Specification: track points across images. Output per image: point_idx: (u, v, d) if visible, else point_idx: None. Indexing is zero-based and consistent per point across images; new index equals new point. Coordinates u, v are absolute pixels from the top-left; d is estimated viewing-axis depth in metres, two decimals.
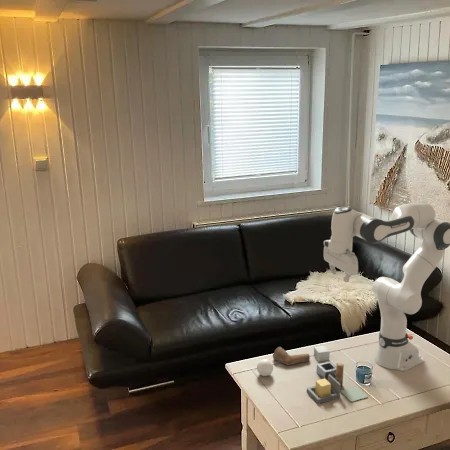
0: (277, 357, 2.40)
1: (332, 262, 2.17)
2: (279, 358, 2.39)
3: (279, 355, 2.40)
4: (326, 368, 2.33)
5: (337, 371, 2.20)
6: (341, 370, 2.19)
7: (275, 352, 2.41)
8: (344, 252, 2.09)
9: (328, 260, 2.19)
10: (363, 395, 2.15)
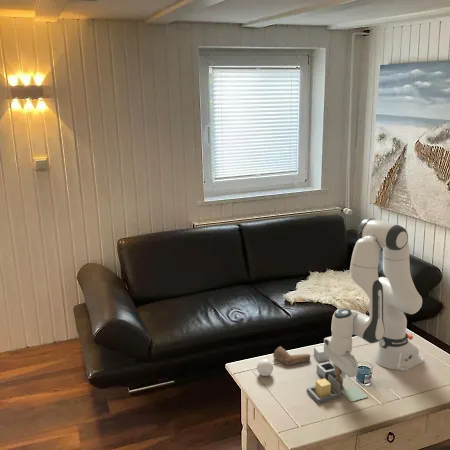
0: (277, 357, 2.41)
1: (332, 360, 2.22)
2: (279, 358, 2.40)
3: (279, 355, 2.40)
4: (326, 368, 2.33)
5: (337, 371, 2.20)
6: None
7: (275, 352, 2.42)
8: (344, 354, 2.14)
9: (328, 357, 2.25)
10: (363, 395, 2.15)
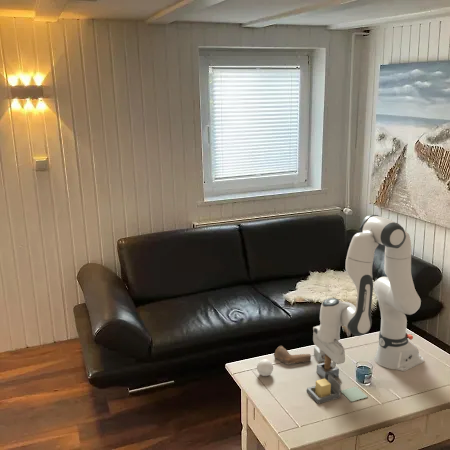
0: (278, 356, 2.41)
1: (321, 348, 2.30)
2: (280, 357, 2.40)
3: (280, 354, 2.41)
4: None
5: (325, 361, 2.28)
6: (329, 360, 2.27)
7: (276, 351, 2.42)
8: (332, 341, 2.21)
9: (317, 345, 2.32)
10: (363, 395, 2.15)
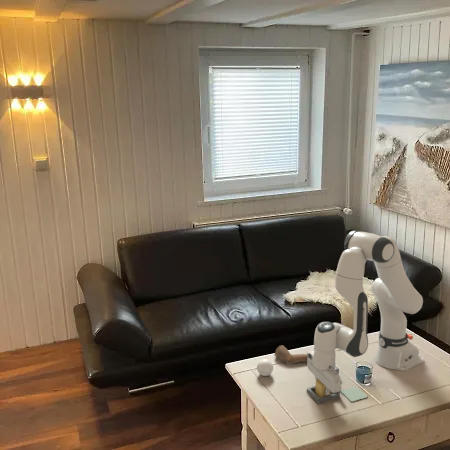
0: (278, 355, 2.42)
1: (315, 374, 2.17)
2: (280, 356, 2.41)
3: (280, 353, 2.41)
4: None
5: None
6: None
7: (277, 350, 2.43)
8: (327, 369, 2.08)
9: (312, 371, 2.19)
10: (363, 395, 2.15)
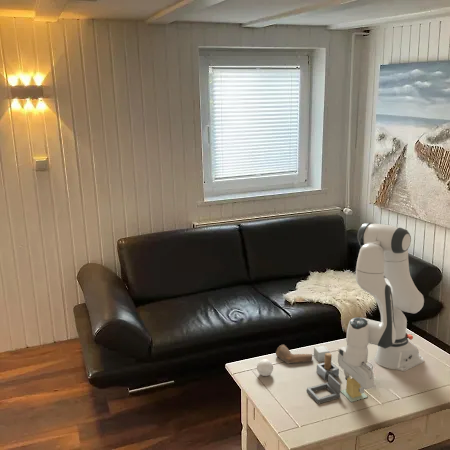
0: (279, 354, 2.42)
1: (347, 370, 2.16)
2: (281, 356, 2.42)
3: (281, 353, 2.42)
4: None
5: (325, 361, 2.28)
6: (329, 359, 2.27)
7: (278, 349, 2.44)
8: (359, 364, 2.08)
9: (343, 367, 2.19)
10: (363, 395, 2.15)
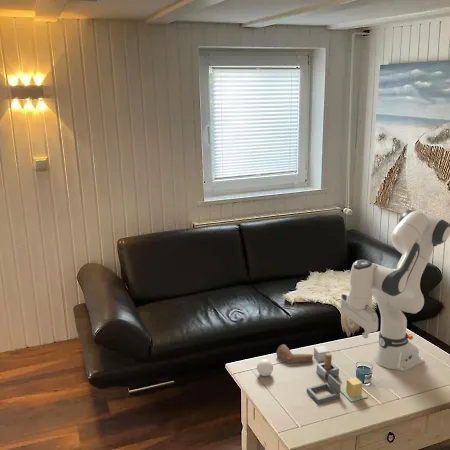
0: (279, 354, 2.43)
1: (350, 316, 2.09)
2: (281, 355, 2.42)
3: (281, 352, 2.42)
4: None
5: (325, 361, 2.28)
6: (329, 360, 2.27)
7: (278, 349, 2.44)
8: (363, 308, 2.00)
9: (346, 313, 2.11)
10: (363, 395, 2.15)
